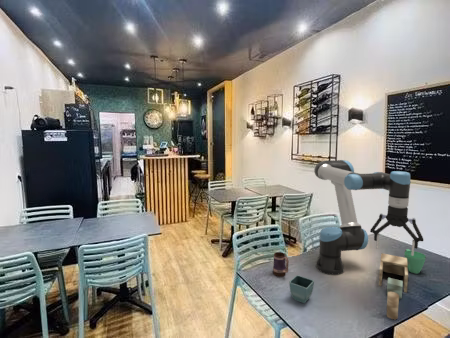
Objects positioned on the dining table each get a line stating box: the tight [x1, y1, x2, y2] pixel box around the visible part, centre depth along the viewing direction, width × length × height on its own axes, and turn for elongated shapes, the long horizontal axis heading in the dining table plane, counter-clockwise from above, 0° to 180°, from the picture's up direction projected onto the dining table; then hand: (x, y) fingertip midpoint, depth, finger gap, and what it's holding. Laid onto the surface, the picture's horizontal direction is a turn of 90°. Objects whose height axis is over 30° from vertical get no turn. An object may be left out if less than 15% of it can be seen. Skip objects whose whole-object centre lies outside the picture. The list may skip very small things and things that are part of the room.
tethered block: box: [385, 277, 404, 321], centre depth 120 cm, size 6×25×10 cm, turn 145°
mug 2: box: [404, 248, 427, 275], centre depth 151 cm, size 15×10×10 cm
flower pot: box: [288, 274, 315, 304], centre depth 124 cm, size 9×9×9 cm
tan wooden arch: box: [378, 253, 409, 294], centre depth 139 cm, size 12×19×10 cm, turn 147°
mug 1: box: [272, 251, 290, 278], centre depth 146 cm, size 10×7×12 cm
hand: (394, 251), depth 122 cm, fingers open, 13 cm apart
